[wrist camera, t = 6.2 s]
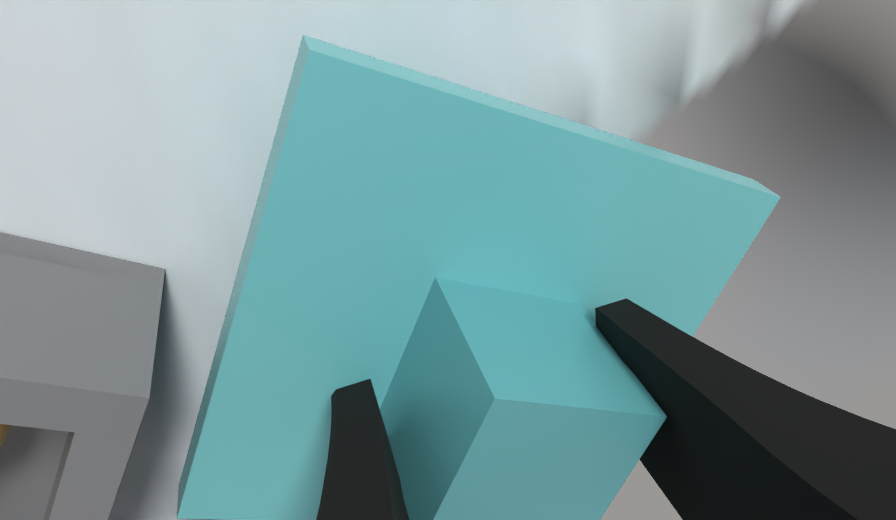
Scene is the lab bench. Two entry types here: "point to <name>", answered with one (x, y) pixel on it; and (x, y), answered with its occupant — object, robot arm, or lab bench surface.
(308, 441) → the lid
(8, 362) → the box
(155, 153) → the lab bench surface
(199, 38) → the lab bench surface
